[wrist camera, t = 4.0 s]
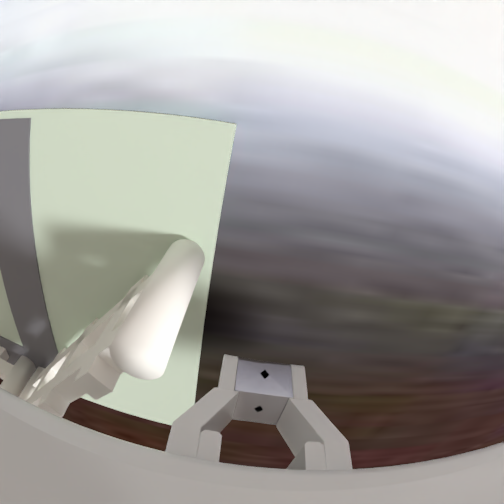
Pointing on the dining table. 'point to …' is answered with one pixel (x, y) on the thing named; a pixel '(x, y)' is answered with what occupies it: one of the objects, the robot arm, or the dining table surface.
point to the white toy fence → (123, 336)
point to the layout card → (105, 231)
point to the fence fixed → (15, 373)
